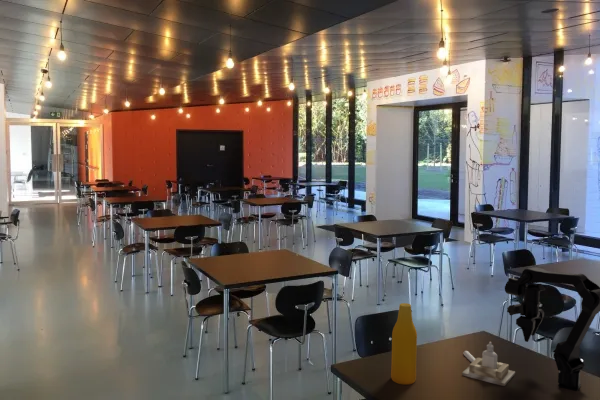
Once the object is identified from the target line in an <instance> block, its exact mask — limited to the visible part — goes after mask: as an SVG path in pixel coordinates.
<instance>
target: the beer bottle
mask: <svg viewBox="0 0 600 400" xmlns="http://www.w3.org/2000/svg"><path fill="white" fill-rule="evenodd" d="M398 307H399V308H398V314H397V320H396V322H395V324H394V326H393V328H392V333H391V368H390V369H391V370H390V377H391V380H392V382H394V383H396V384H399V385H404V386H405V385H412V384H414V383H415V382H416V379H417V346H418V344H417V343H418V333H417V329H416V325H415V324H414V321H413V313H412V304H410V303H405V302H404V303H399V305H398Z"/></svg>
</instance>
